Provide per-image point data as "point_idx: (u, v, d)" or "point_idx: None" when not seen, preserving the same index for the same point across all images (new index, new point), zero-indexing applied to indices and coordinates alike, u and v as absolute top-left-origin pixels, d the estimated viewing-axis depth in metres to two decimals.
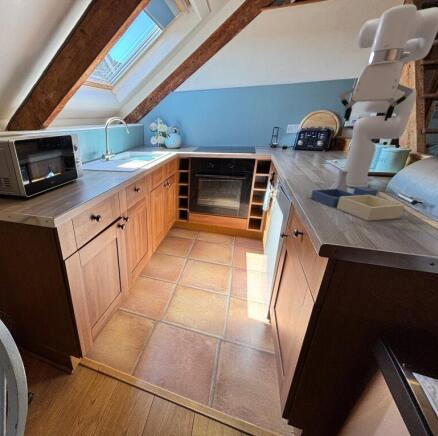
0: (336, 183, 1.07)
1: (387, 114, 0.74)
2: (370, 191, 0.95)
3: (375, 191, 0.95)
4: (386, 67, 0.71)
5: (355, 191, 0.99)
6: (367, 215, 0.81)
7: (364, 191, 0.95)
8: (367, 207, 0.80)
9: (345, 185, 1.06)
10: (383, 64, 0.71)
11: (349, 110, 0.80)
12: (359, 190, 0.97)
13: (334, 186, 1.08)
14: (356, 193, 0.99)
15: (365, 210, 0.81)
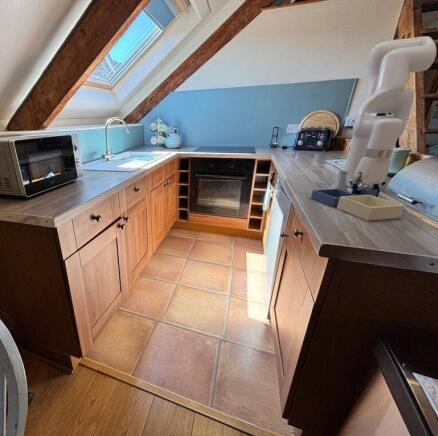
0: (336, 183, 1.07)
1: (377, 194, 0.97)
2: (370, 191, 0.95)
3: (375, 191, 0.95)
4: (385, 161, 0.91)
5: None
6: (367, 215, 0.81)
7: (364, 191, 0.95)
8: (367, 207, 0.80)
9: (345, 185, 1.06)
10: None
11: (360, 192, 0.95)
12: None
13: (334, 186, 1.08)
14: None
15: (365, 210, 0.81)
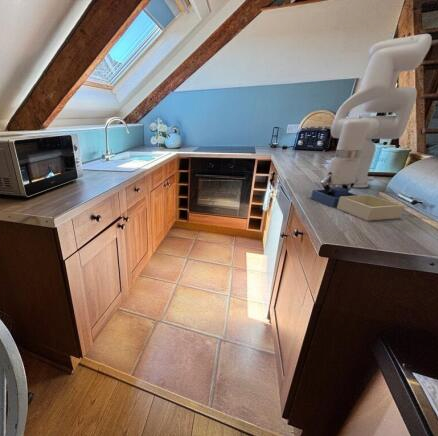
0: None
1: None
2: (341, 191, 0.94)
3: (346, 191, 0.94)
4: (354, 162, 0.90)
5: None
6: (367, 215, 0.81)
7: (335, 191, 0.95)
8: (367, 207, 0.80)
9: None
10: None
11: (332, 193, 0.95)
12: None
13: None
14: None
15: (365, 210, 0.81)
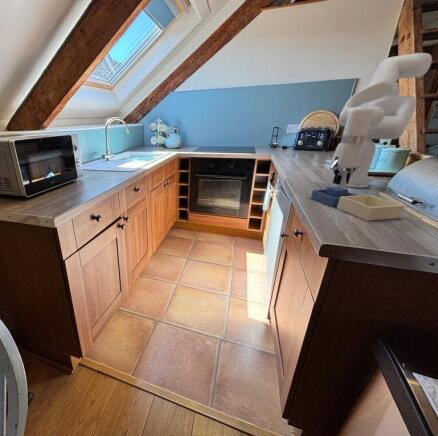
0: None
1: (348, 180, 1.05)
2: (341, 191, 0.94)
3: (346, 191, 0.94)
4: (359, 146, 0.99)
5: (327, 191, 0.98)
6: (367, 215, 0.81)
7: (335, 191, 0.95)
8: (367, 207, 0.80)
9: (345, 185, 1.06)
10: None
11: (341, 177, 1.04)
12: (330, 190, 0.97)
13: (334, 186, 1.07)
14: (328, 193, 0.98)
15: (365, 210, 0.81)
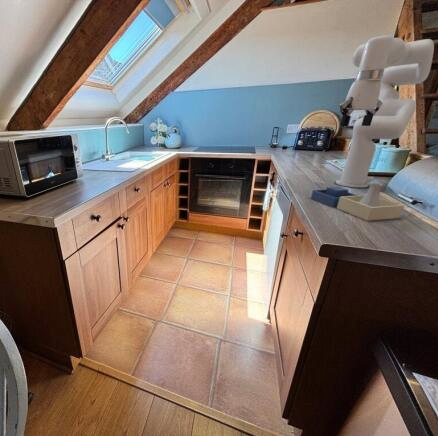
0: (366, 199, 0.85)
1: (370, 120, 0.95)
2: (341, 191, 0.94)
3: (346, 191, 0.94)
4: (376, 83, 0.89)
5: (327, 191, 0.98)
6: (367, 215, 0.81)
7: (335, 191, 0.95)
8: (367, 207, 0.80)
9: (378, 202, 0.83)
10: (374, 81, 0.89)
11: (349, 117, 0.94)
12: (330, 190, 0.97)
13: (363, 203, 0.85)
14: (328, 193, 0.98)
15: (365, 210, 0.81)
